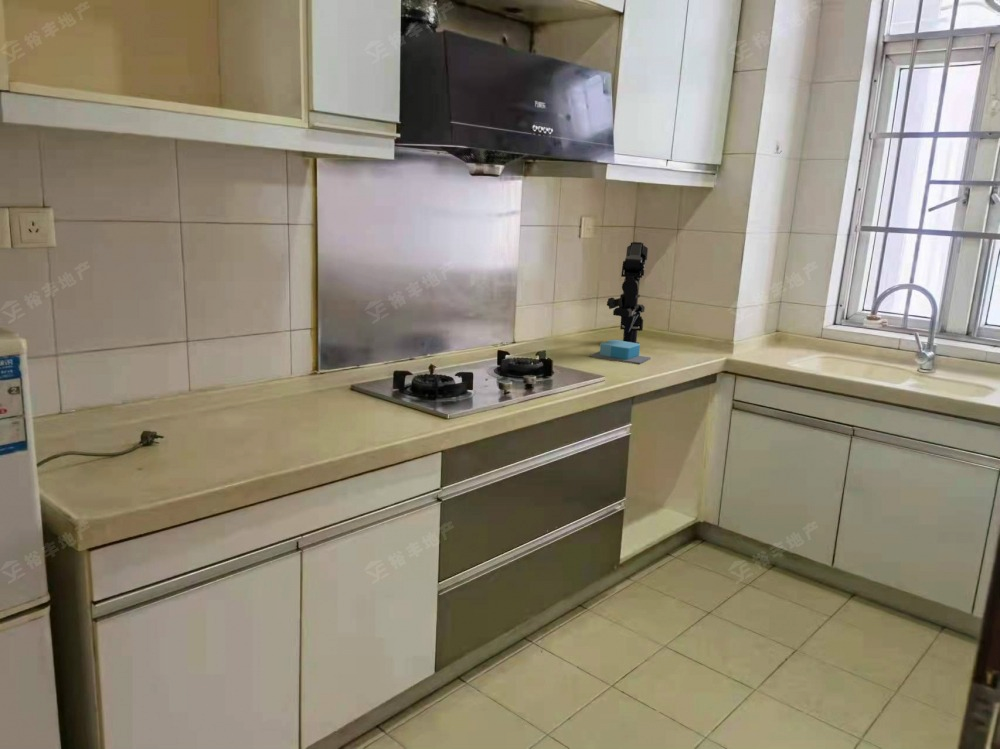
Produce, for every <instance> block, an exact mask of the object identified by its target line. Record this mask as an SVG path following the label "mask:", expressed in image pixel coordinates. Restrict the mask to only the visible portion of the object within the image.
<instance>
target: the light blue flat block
mask: <svg viewBox="0 0 1000 749" xmlns="http://www.w3.org/2000/svg"><path fill="white" fill-rule="evenodd" d="M599 346H600V347H599V351H600V355H602V356H608V357H613V358H619V359H630V358H633V357H636V356H640V350H641V344H640V343H639V344H638V343H632V342H626V341H623V340H619V339H611V340H608V341H603V342H601V343H600V345H599Z"/></svg>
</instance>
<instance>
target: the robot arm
mask: <svg viewBox="0 0 1000 749" xmlns="http://www.w3.org/2000/svg"><path fill="white" fill-rule="evenodd" d="M625 253H626V255H625V259H624V260H623V261H622V267H621V275H620V276H621V277H623V278H624V279H623V282H622V284H621V290H622V291H623V292H622V293H621V294H620V295H619V296H620V297H619V298H615V297H609V298H608V299H607V301H606V306H608V309H609V310H612V309H613V310H612V311H613V312H612V315H613V316H617V317H620V328H619V329H620V330H623V334H622V341H626V342H632V343H638V344H640V342H639V341H638V331H639V332H641V331H643V330H644V329H643V327H644V319H643V316H641V314H642V313H644V312H645V308H646V306H644V305H643V304H640V303H639V302H638V301H639V299H640V297H641V294H639V292H640V282H641V279H642V278H643V276H645V268H646V261H648V253H649V248H648V247H647V246H645V245H644V243H643V242H640V241H639V242H638V241H632V242H630V245H627V247H626V252H625Z"/></svg>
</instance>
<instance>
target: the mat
mask: <svg viewBox="0 0 1000 749" xmlns="http://www.w3.org/2000/svg"><path fill="white" fill-rule="evenodd" d="M589 357H590V358H596V359H603V360H609V361H614V362H622V363H628V364H636V365H641V364H643V363H645V362H647V361H649V360H651V357H649V356H642V355H639V356H636V357H633V358H630V359H619V358H613V357H608V356H602V355H600V350H599V351H597V352H594V353H592V354H590V355H589Z"/></svg>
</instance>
